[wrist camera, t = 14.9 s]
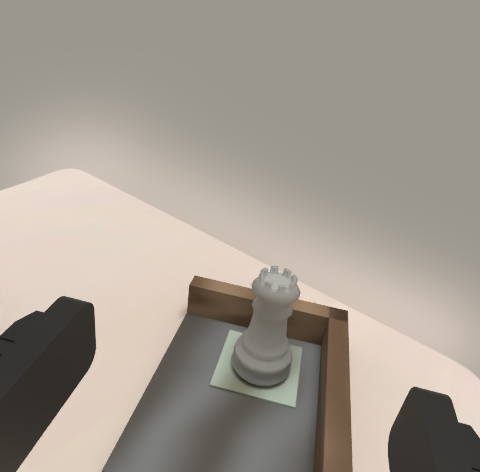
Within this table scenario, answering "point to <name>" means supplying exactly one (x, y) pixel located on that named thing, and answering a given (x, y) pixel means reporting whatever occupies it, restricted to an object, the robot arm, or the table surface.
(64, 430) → the table surface
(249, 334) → the rook chess piece
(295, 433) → the corner arena
